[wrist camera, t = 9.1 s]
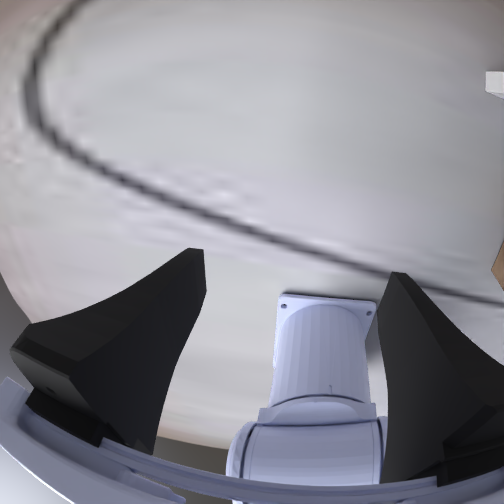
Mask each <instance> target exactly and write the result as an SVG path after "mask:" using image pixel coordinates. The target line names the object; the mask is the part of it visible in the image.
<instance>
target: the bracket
mask: <svg viewBox="0 0 504 504" xmlns="http://www.w3.org/2000/svg"><path fill="white" fill-rule="evenodd" d="M485 91H486V92H488V93H491V94H493V95H495V96H498V97H500V98H502V99H504V72H486V89H485Z"/></svg>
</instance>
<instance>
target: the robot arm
mask: <svg viewBox="0 0 504 504" xmlns="http://www.w3.org/2000/svg"><path fill="white" fill-rule="evenodd" d="M206 292H207V290H206V278H205V265H204V251H203V249H195V248H187V249H186V250H184V251H182V252H181V253H179V254H178V255H177V256H175V257H174V258H172V259H171V260H169V261H168V262H167V263H165V264H164V265H162V266H161V267H159V268H158V269H156V270H155V271H154V272H152V273H151V274H149V275H147V276H146V277H144V278H143V279H141V280H139V281H138V282H136V283H135V284H133V285H132V286H130V287H128V288H126V289H125V290H123V291H121V292H119V293H117V294H115V295H113V296H111V297H109V298H107V299H105V300H103V301H101V302H98V303H96V304H94V305H91V306H89V307H87V308H84V309H82V310H79V311H76V312H74V313H71V314H68V315H64V316H61V317H58V318H54V319H50V320H46V321H42V322H38V323H33V324H29V325H28V326H27V327H26V328H25V330H24V331H23V333H22V334H21V335H20V336H19V338H18V339H17V340H16V342H15V343H14V344H13V346H12V347H11V348H10V355H11V357H12V359H13V361H14V363H15V364H16V365H17V367H18V368H19V370H20V371H21V372H22V373H23V375H24V376H25V377H26V378H27V379H28V381H29V382H30V383H31V384H32V386H33V387H34V389H33V391H32V392H31V393H30V392H29V391H28V390H26V389H25V388H24V387H22V386H21V385H19V384H18V383H16V382H15V381H14V380H12V379H11V378H9V377H6V378H5V379H4V381H3V382H2V384H1V385H0V446H1V447H2V448H3V449H4V450H5V451H6V452H7V453H8V454H9V455H10V456H11V457H12V458H14V459H15V460H16V461H17V462H18V463H19V464H20V465H22V466H23V467H24V468H25V469H26V470H27V471H28V472H30V473H31V474H32V475H33V476H35V477H36V478H37V479H38V480H40V481H41V482H42V483H44V484H45V485H46V486H47V487H49V488H50V489H52V490H53V491H54V492H56V493H57V494H58V495H60V496H61V497H63V498H64V499H66V500H68V501H69V502H70V503H72V504H185V502H186V500H185V498H183V497H181V496H179V495H177V494H175V493H173V492H172V491H171V489H170V488H168V487H166V486H163V485H160V484H158V483H155V482H153V481H151V480H148V479H146V478H143V477H141V476H139V475H137V474H140V475H142V476H146V477H148V478H151V479H154V480H157V481H160V482H163V483H166V484H169V485H172V486H176V487H179V488H182V489H186V490H190V491H194V492H197V493H202V494H206V495H210V496H215V497H219V498H224V499H230V500H232V501H233V504H393V503H396V504H504V366H503V365H502V364H500V363H499V362H497V361H496V360H495V359H493V358H492V357H491V356H489V355H488V354H487V353H485V352H484V351H483V350H482V349H480V348H479V347H478V346H477V345H476V344H474V343H473V342H472V341H471V340H470V339H469V338H468V337H467V336H466V335H464V334H463V333H462V332H461V331H460V330H459V329H458V328H457V327H456V326H455V325H454V324H453V323H452V322H451V321H450V320H449V319H448V318H447V317H446V316H445V315H444V313H443V312H442V311H441V310H440V309H439V308H438V307H437V306H436V305H435V304H434V303H433V301H432V300H431V299H430V298H429V297H428V296H427V295H426V294H425V292H424V291H423V290H422V289H421V288H420V287H419V286H418V285H417V284H416V283H415V282H414V281H413V280H412V278H411V277H409V276H408V275H407V274H406V273H399V272H392V273H391V276H390V279H389V281H388V284H387V287H386V290H385V292H384V295H383V298H382V300H381V303H380V305H379V308H378V310H377V318H378V333H379V339H380V345H381V350H382V356H383V361H384V367H385V373H386V380H387V389H388V417H386V416H380V417H378V418H377V415H376V404H375V403H371V399H370V387H369V377H368V367H367V358H366V350H365V339H366V337H367V334H368V331H369V329H370V326H371V323H372V320H373V317H374V314H375V312H376V308H377V307H376V303H375V302H372V301H361V300H348V299H336V298H324V297H313V296H302V295H292V294H282V295H280V296H279V299H278V310H277V323H276V334H275V346H274V357H273V367H274V368H275V369H274V375H273V381H272V387H271V393H270V399H269V404H268V408H260V410H259V415H258V420H257V422H248V423H246V424H245V425H244V426H243V427H242V429H240V430H239V431H238V432H237V434H236V435H235V437H234V439H233V441H232V443H231V446H230V449H229V453H228V458H227V465H226V476H225V475H221V474H215V473H211V472H207V471H202V470H198V469H194V468H190V467H187V466H183V465H179V464H176V463H172V462H169V461H166V460H162V459H160V458H156V457H153V456H151V455H152V454H153V450H154V444H155V440H156V435H157V430H158V426H159V421H160V417H161V413H162V409H163V405H164V402H165V398H166V395H167V391H168V388H169V385H170V382H171V378H172V375H173V372H174V369H175V366H176V364H177V361H178V359H179V356H180V354H181V352H182V350H183V348H184V346H185V343H186V341H187V339H188V337H189V335H190V333H191V331H192V329H193V327H194V324H195V322H196V320H197V318H198V316H199V313H200V311H201V308H202V305H203V301H204V298H205V295H206ZM282 304H286V305H285V306H284V305H282ZM368 311H371V312H369V313H367V312H368ZM136 473H137V474H136Z"/></svg>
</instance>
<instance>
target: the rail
mask: <svg viewBox="0 0 504 504" xmlns="http://www.w3.org/2000/svg"><path fill="white" fill-rule="evenodd" d="M491 271H492V272H493V274H494V276H495V277H496V279H497V280H498V282H499V284H500V285H501V287H502V289H503V291H504V242H503V244H502V247H501V249H500V252H499V254H498V256H497V259H496V261H495V263H494V265H493V267H492V270H491Z"/></svg>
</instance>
